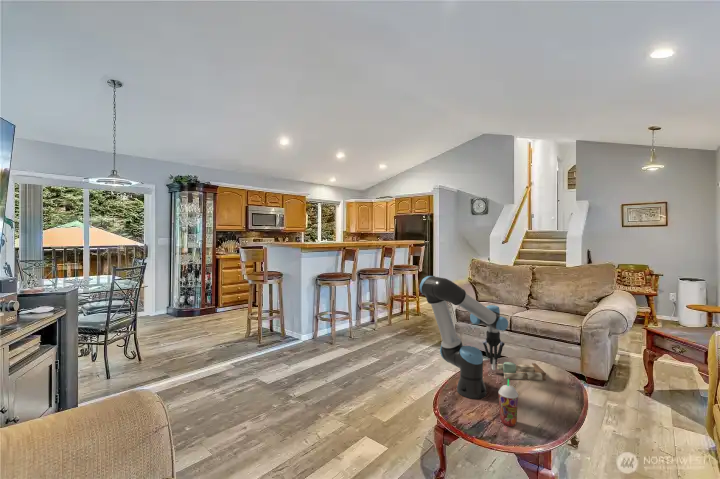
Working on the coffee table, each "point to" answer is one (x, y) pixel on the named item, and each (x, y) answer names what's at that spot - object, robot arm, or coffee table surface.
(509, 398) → the smoothie
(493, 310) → the robot arm
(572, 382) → the coffee table surface
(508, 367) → the pale green rounded lump
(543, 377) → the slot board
